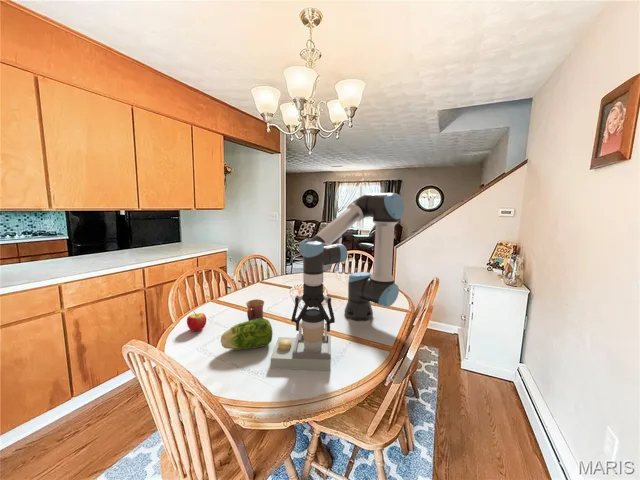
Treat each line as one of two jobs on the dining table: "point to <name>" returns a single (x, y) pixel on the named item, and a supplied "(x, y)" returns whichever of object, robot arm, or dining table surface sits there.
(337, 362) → the dining table surface
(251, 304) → the mug
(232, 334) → the lettuce
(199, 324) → the apple
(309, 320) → the coffee cup
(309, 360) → the grey tray
